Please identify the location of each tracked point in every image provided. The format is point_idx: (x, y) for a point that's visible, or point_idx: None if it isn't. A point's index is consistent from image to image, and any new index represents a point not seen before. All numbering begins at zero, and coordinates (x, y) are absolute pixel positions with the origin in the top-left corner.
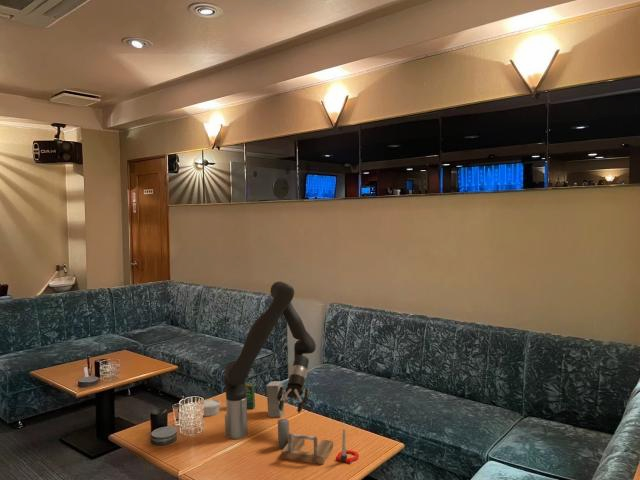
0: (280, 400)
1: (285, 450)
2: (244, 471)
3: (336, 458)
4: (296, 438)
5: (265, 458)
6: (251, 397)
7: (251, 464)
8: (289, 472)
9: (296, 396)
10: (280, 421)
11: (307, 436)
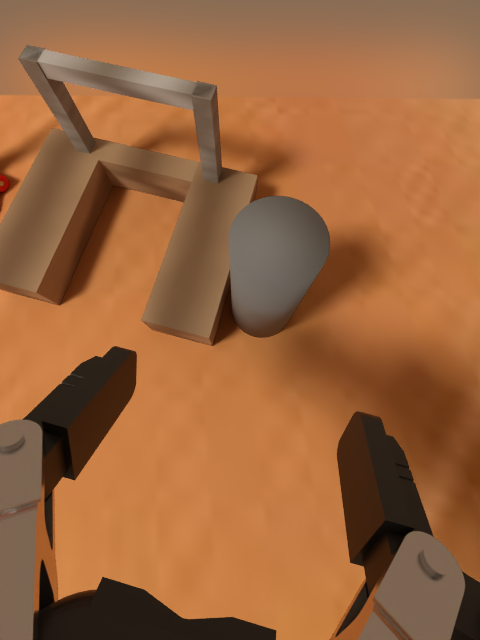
0: (437, 547)
1: (238, 181)
2: (386, 114)
3: (3, 176)
4: (189, 307)
5: (328, 200)
6: None
7: (375, 158)
8: None
9: (63, 604)
10: (304, 233)
11: (83, 63)
